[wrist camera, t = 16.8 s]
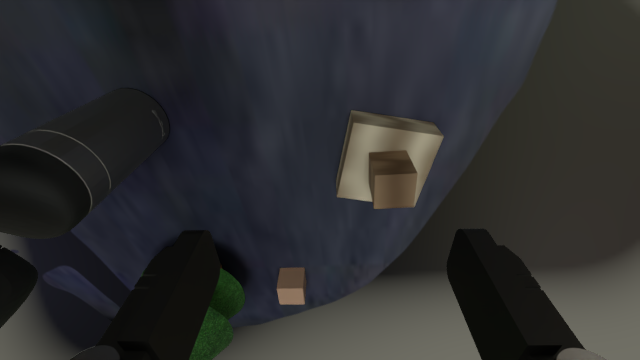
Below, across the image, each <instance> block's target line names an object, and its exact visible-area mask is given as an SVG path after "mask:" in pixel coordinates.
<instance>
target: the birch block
mask: <svg viewBox="0 0 640 360" xmlns="http://www.w3.org/2000/svg"><path fill="white" fill-rule="evenodd" d="M443 137H444V136H443V135H442V133H441V132H440V131H439V129H438V128H437V127H436V126H435V124H434V123H433V122H426V121H420V120H413V119H407V118H400V117H394V116H387V115H381V114H374V113H367V112H361V111H354V110H351V113H350V118H349V123H348V127H347V132H346V137H345V141H344V146H343V150H342V155H341V160H340V164H339V169H338V174H337V178H336V189H337V197H341V198H349V199H356V200H364V201H371V202H372V197H371V192H370V188H369V152H385V151H402V150H406V151H407V153H408V155H409V157H410V159H411V161H412V163H413V165H414V167H415V169H416V171H417V173H418V175H417V184H416V192H415V201H414V206H415V204H416V202H417V199H418V197H419V194H420V192H421V190H422V187H423V185H424V182H425V180H426V178H427V175H428V173H429V170H430V168H431V166H432V163H433V161H434V158H435V156H436V154H437V151H438V149H439V147H440V144H441V142H442V139H443Z"/></svg>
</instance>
